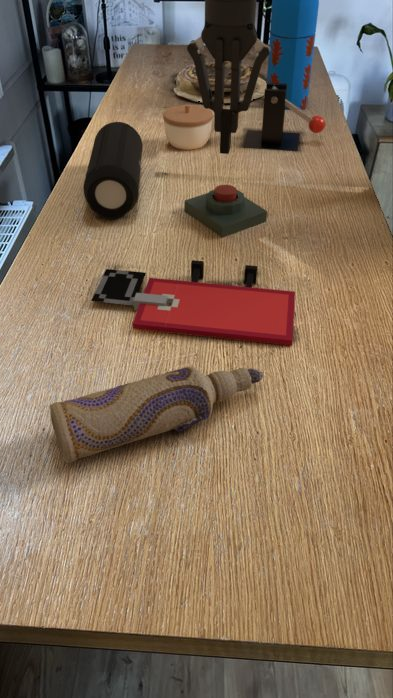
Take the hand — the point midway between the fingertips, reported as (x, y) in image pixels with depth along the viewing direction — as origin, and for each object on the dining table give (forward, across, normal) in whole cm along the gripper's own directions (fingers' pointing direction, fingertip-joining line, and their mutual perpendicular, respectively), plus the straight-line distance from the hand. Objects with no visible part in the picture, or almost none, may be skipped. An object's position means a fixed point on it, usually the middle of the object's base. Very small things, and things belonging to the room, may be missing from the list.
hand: (225, 150), depth 101 cm
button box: (+13, 0, 0) cm, 13 cm away
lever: (+6, +10, +34) cm, 36 cm away
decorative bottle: (+13, 0, -52) cm, 54 cm away
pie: (+13, -12, +71) cm, 73 cm away
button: (+9, 0, 0) cm, 9 cm away
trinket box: (+13, -12, +30) cm, 35 cm away
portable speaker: (+13, -22, +6) cm, 26 cm away
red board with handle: (+13, 0, -28) cm, 30 cm away
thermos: (+13, +7, +61) cm, 63 cm away
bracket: (+12, +6, +34) cm, 37 cm away
